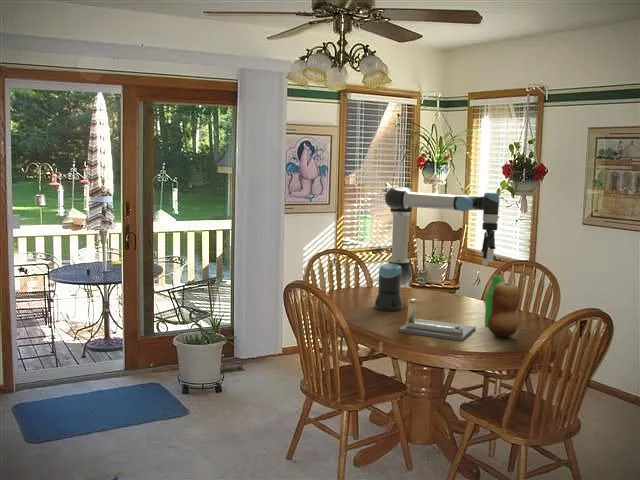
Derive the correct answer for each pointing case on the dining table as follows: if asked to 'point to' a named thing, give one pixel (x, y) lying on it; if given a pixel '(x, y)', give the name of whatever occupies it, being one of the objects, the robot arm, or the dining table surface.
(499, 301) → the butternut squash
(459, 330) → the lever
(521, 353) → the dining table surface
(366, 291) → the dining table surface
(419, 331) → the lever board
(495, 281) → the bottle
